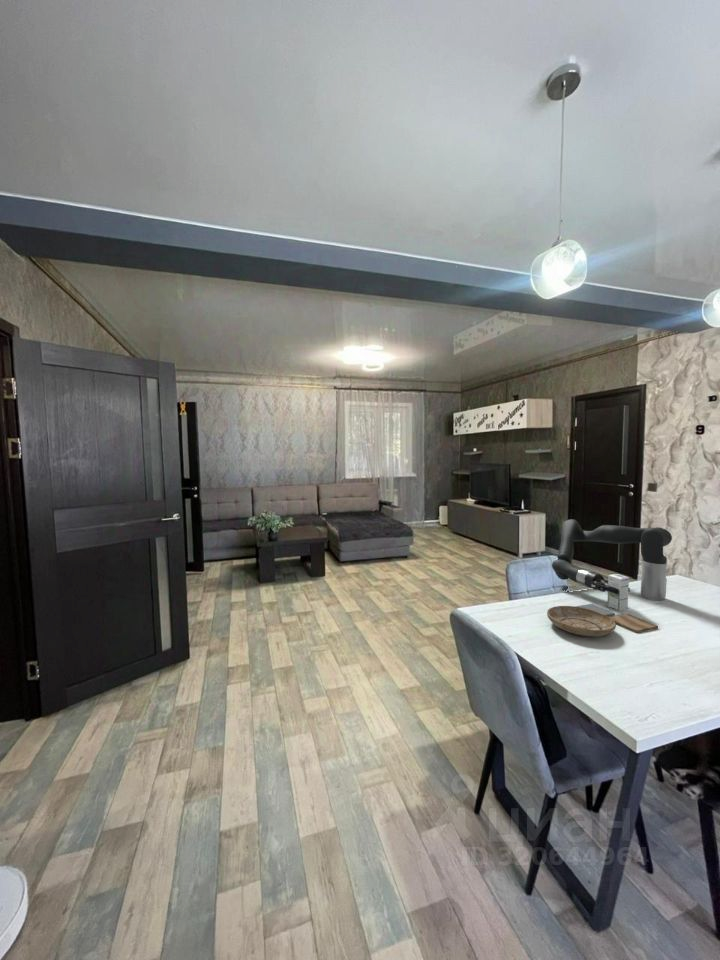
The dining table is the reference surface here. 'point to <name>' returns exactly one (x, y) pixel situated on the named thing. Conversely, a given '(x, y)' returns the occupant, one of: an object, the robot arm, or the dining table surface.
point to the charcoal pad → (597, 609)
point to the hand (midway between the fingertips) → (623, 591)
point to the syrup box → (619, 599)
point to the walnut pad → (633, 623)
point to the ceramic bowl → (581, 620)
